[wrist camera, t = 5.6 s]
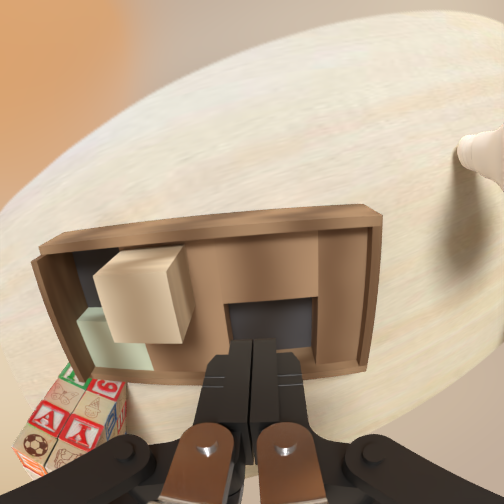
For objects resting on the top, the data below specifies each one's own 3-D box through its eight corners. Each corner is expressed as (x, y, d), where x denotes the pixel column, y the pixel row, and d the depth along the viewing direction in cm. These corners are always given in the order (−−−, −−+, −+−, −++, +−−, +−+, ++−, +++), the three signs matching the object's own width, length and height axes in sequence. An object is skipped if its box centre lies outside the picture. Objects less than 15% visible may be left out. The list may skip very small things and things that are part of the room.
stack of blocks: (130, 470, 31) (110, 538, 19) (90, 455, 31) (65, 519, 19) (127, 379, 24) (80, 486, 13) (69, 356, 24) (8, 448, 12)
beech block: (184, 243, 17) (166, 271, 13) (195, 304, 18) (182, 343, 14) (122, 249, 17) (92, 275, 13) (137, 307, 18) (114, 342, 15)
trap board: (362, 203, 18) (391, 220, 14) (354, 344, 22) (370, 382, 18) (63, 232, 19) (28, 252, 15) (102, 354, 23) (82, 387, 19)
